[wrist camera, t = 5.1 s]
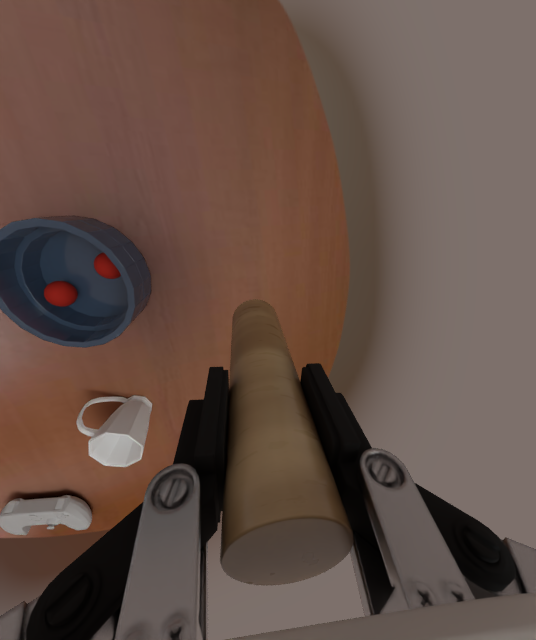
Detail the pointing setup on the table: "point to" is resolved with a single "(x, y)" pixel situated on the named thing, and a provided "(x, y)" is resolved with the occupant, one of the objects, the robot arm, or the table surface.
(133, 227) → the table surface
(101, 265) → the ball
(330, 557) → the stick
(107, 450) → the cup
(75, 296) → the ball
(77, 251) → the bowl
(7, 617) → the robot arm
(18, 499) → the game controller
